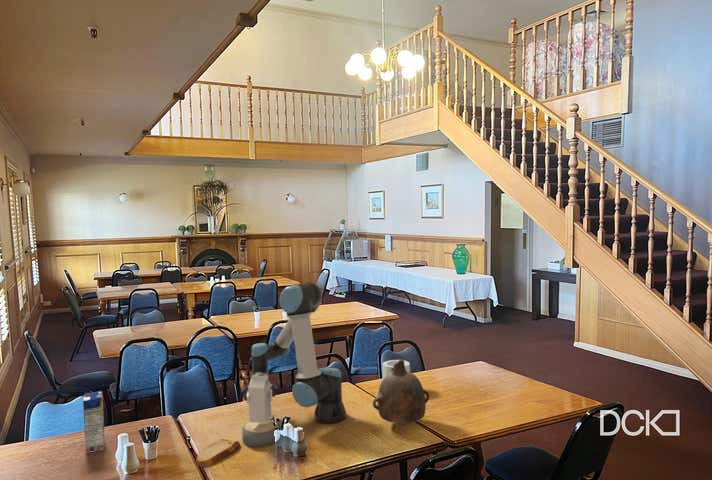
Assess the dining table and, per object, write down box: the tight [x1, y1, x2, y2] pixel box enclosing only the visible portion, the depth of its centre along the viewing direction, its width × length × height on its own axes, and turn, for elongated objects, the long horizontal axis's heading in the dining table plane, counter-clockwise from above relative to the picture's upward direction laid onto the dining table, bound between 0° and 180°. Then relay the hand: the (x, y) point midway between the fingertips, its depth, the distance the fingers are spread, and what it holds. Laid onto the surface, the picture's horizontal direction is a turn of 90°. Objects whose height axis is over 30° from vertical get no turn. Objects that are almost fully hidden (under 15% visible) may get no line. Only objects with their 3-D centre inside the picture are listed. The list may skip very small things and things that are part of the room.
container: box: [382, 359, 411, 380], centre depth 266 cm, size 16×16×15 cm
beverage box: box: [82, 390, 106, 453], centre depth 208 cm, size 7×11×22 cm, turn 27°
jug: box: [372, 359, 430, 426], centre depth 218 cm, size 24×21×30 cm
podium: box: [241, 418, 281, 448], centre depth 210 cm, size 16×16×6 cm
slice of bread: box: [195, 438, 241, 468], centre depth 197 cm, size 18×18×4 cm
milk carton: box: [247, 375, 272, 423], centre depth 209 cm, size 7×7×19 cm
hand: (259, 399), depth 205 cm, fingers closed on milk carton, 9 cm apart
